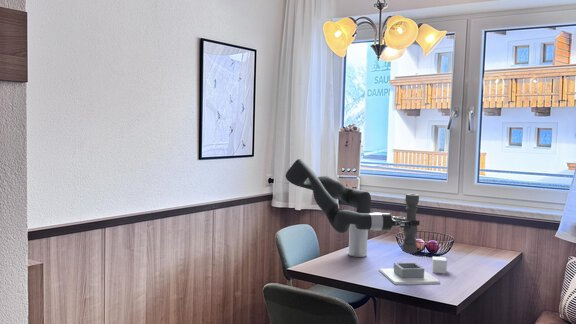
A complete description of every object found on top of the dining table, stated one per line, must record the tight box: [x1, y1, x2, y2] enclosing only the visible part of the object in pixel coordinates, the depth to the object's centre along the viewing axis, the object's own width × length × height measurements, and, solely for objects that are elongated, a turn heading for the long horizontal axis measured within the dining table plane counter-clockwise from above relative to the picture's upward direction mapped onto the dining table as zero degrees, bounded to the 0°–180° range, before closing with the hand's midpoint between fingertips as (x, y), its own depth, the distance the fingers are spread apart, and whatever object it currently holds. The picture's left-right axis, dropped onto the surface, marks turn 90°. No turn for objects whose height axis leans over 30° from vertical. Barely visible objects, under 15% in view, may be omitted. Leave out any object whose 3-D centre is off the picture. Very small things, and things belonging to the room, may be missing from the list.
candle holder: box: [401, 193, 420, 254], centre depth 228 cm, size 6×6×25 cm
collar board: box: [378, 262, 441, 286], centre depth 229 cm, size 20×20×5 cm
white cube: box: [431, 256, 448, 274], centre depth 240 cm, size 6×6×6 cm
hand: (416, 221), depth 228 cm, fingers closed on candle holder, 3 cm apart
